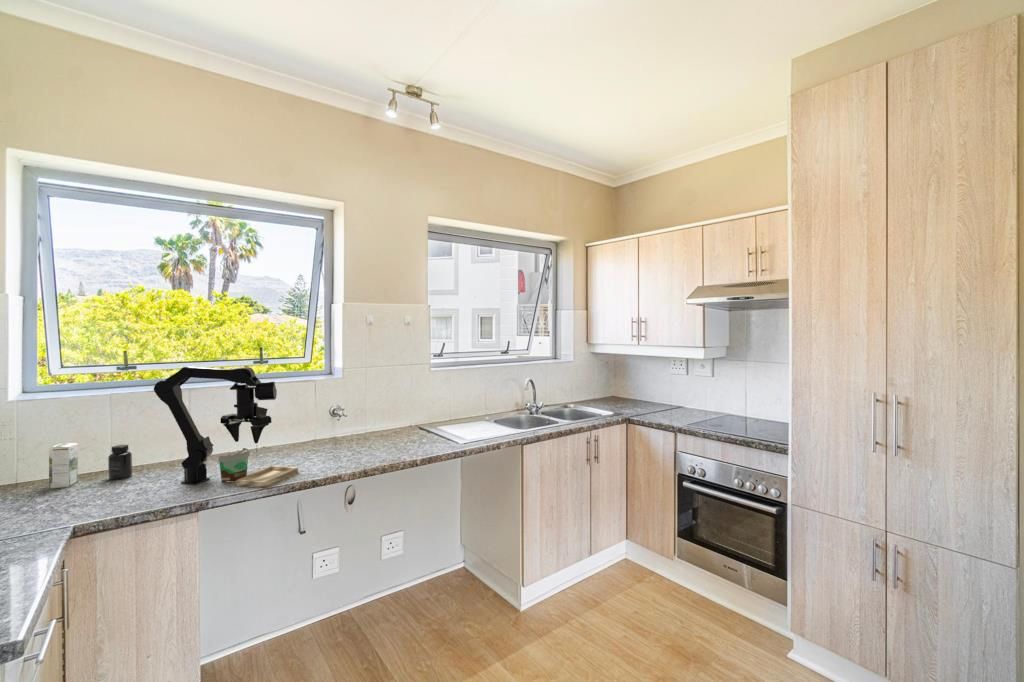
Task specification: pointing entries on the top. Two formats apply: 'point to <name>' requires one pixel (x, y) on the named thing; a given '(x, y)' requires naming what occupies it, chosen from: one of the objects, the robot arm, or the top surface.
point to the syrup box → (63, 465)
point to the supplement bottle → (120, 463)
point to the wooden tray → (267, 476)
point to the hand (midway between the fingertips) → (246, 442)
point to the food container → (234, 465)
